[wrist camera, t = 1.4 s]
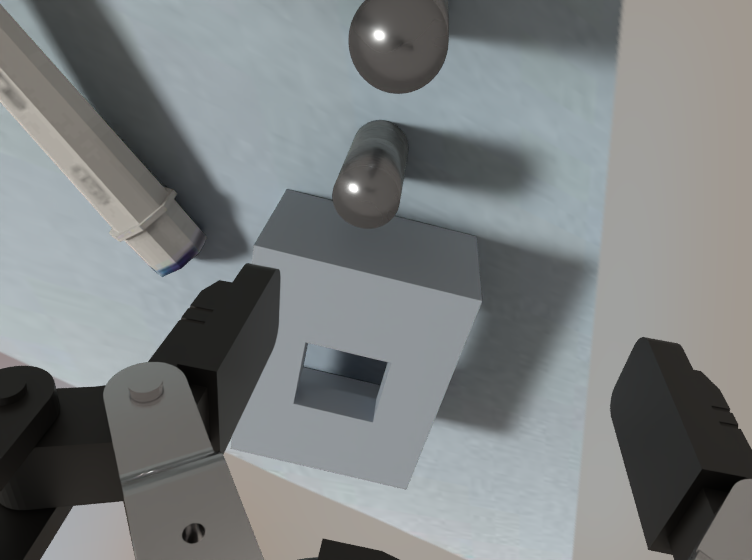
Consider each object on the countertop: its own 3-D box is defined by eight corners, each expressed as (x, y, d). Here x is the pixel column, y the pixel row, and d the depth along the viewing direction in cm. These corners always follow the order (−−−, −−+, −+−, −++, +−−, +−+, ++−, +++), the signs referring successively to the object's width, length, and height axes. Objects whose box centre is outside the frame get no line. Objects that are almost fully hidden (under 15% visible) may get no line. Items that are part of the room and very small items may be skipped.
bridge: (259, 376, 43) (230, 448, 37) (286, 189, 35) (253, 245, 29) (411, 412, 44) (406, 489, 38) (476, 236, 35) (482, 301, 29)
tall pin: (377, 22, 29) (340, 80, 19) (392, -48, 27) (359, -26, 17) (438, 38, 29) (433, 104, 19) (456, -31, 27) (461, 1, 17)
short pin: (348, 166, 33) (327, 219, 28) (359, 113, 32) (338, 158, 26) (401, 179, 33) (390, 235, 28) (414, 128, 32) (407, 175, 26)
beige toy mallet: (138, 290, 35) (-322, -156, 22) (172, 229, 40) (-182, -163, 27) (203, 261, 34) (-251, -244, 20) (230, 201, 39) (-116, -234, 25)
